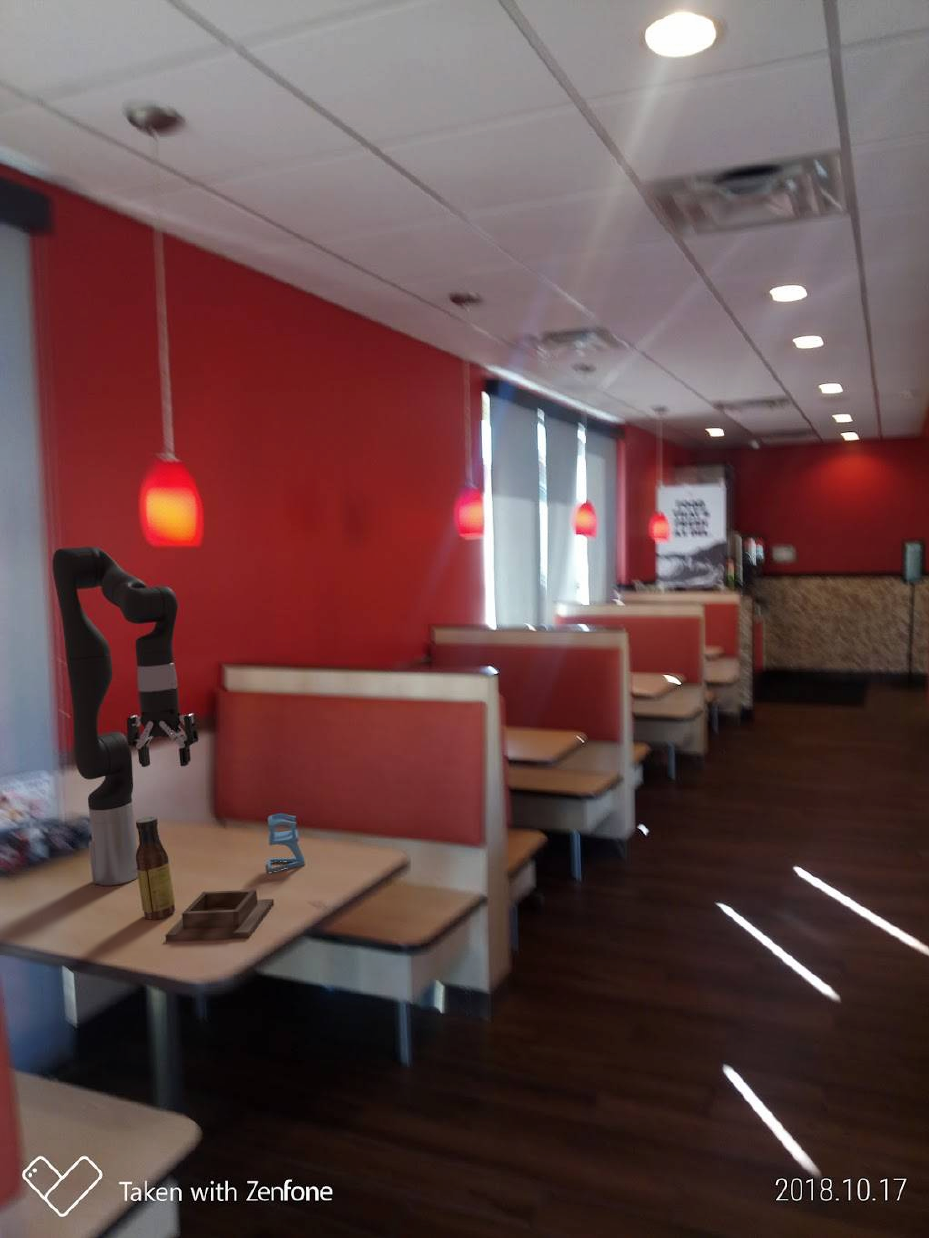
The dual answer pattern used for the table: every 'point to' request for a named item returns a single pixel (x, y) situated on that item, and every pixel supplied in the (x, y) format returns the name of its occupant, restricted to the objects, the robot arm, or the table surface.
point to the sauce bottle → (153, 871)
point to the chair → (284, 841)
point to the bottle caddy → (221, 916)
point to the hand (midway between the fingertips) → (165, 765)
